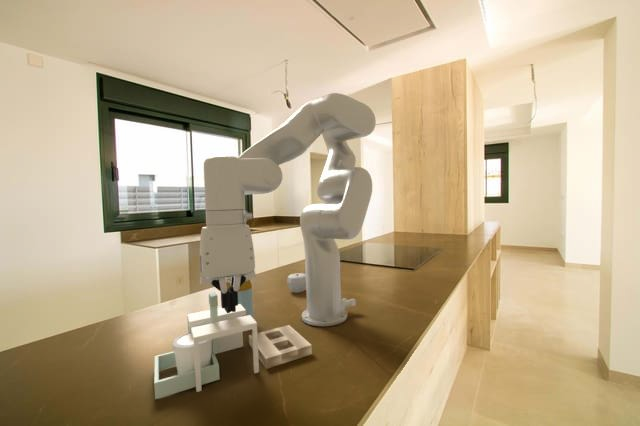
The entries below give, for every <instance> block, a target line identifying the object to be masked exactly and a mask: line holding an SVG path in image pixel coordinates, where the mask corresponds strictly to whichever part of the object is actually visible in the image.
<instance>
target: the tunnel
mask: <svg viewBox="0 0 640 426" xmlns="http://www.w3.org/2000/svg"><path fill="white" fill-rule="evenodd" d="M217 311H218V322H215V323H211V320H210V309H207V310H202V311H197V312H192V313H187V316H186V317H187V333H189V332H191V334H192V338H193V341H194V360H195V379H196V387H195V390H196V393H199V392H201V391H202V390H203V389H202V385H201V370H200V349H199V342H202V341H206V340H210V339H214V338H219V353H216V354H220V353H224V352H228V351H232V350H236V349H239V348H242V347H244V338H243V337H244V336H243V334H244V333H243V332H247V331H250V330H251V335H252V343H253V349H252V360H253V361H252V363H253V373H254V374H258V373H260V364H259V361H260V359H259V358H258V335H257V333H258V323H257V321H256V319H254V317H253V318H252V317H251V315H247V316H243V315H246V310H245V309H244V307H243V306H242V305H241V304H238V306H236V312H232V311H231V312H230V313H227V312H226V311H225V309H224V308H222V307H217ZM242 316H243V317H242ZM216 354H215V355H216Z"/></svg>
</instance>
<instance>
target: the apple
mask: <svg viewBox="0 0 640 426" xmlns="http://www.w3.org/2000/svg"><path fill="white" fill-rule="evenodd" d="M286 284H287V287H288V289H289V290H290V291H291V292H292V293H294V294H299V293H300V292H301V293H303V292H304V291H305V290H306V273H303V272H301V273H300V272H299V273H298V272H297V273H291V274H289V275H288V276H287V279H286Z"/></svg>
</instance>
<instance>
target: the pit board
mask: <svg viewBox="0 0 640 426" xmlns="http://www.w3.org/2000/svg"><path fill="white" fill-rule="evenodd" d="M257 335H258V359H259V361H260V362H261V363H262V365H263V366H264V368H265V370H267V369H268V370H269V369H270V368H274V367H276V366H280V365H283V364H287V363H289V362H293V361H295V360H298V359H299V360H300V359H301V358H304V357H308V356H311V355H313V348H312V347H313V345H312V344H311V343H310V342H309V341H308V340H307V339H305V337H304V336H302V335H301V334H300V333H299V332H298V331H296V330H295V328H293V327H292V325H290V324H288V325H283V326H279V327H275V328H271V329H268V330H265V331H260V332H257ZM248 344H249V346H250V347H251V349H252V350H253V343H252V334H249V335H248Z"/></svg>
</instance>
